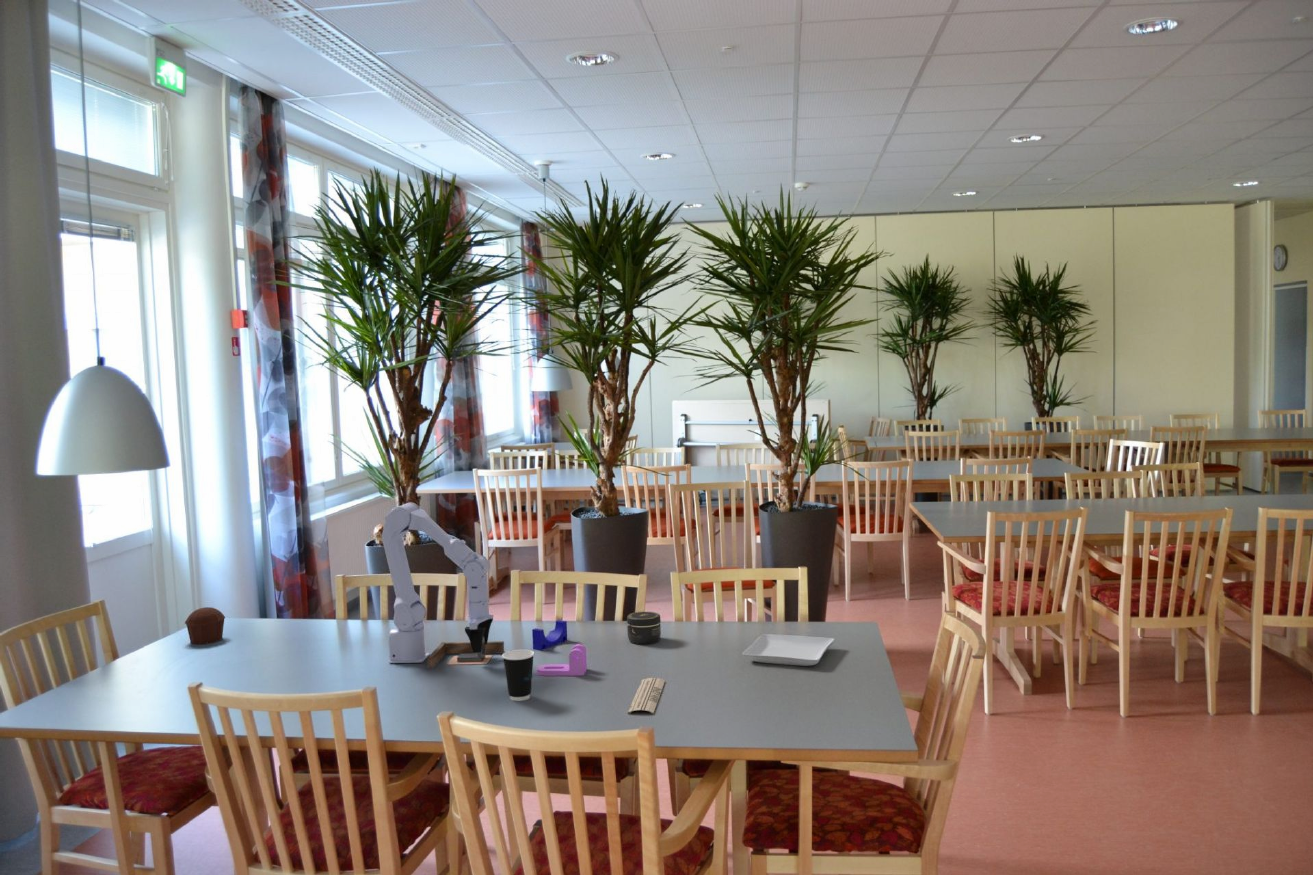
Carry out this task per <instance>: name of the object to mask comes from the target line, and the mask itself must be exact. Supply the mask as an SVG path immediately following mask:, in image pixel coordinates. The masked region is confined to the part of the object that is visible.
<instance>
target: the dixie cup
mask: <svg viewBox="0 0 1313 875" xmlns="http://www.w3.org/2000/svg"><path fill="white" fill-rule="evenodd" d="M534 656H535V651H533V650H531V649H513V650H509V651H504V652H503V653H502V655H501V657H502V659H503V665H504V672H505V678H506V685H507V692H508V695H509V698H510V699H509V700H512V701H513V702H522V701H526V700H529V699H530V698H531V693H532V685H533V684H532V682H533V680H532V679H533V670H534V669H533V666H534Z"/></svg>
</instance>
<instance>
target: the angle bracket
mask: <svg viewBox="0 0 1313 875" xmlns="http://www.w3.org/2000/svg"><path fill="white" fill-rule="evenodd" d="M485 655H486V653H485V639H484V636H483V640H482V650H481V652H478V653H459V654H458V655H457V656H458V657H457V662H482V661H483V660H484V658H485Z"/></svg>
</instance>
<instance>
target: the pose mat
mask: <svg viewBox="0 0 1313 875" xmlns="http://www.w3.org/2000/svg"><path fill="white" fill-rule="evenodd" d="M458 656H459V655H453V657H452V658H451V659H450V660H449V661H448V662H447V664H446V666H460V665H461V666H465V665H466V666H467V665H468V666H469V665H471V666H472V665H488V663H489V662H490V660H491V659H492V657H493V654H485V658H484V660H483V661H482V662H457V657H458Z"/></svg>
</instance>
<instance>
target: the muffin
mask: <svg viewBox="0 0 1313 875" xmlns="http://www.w3.org/2000/svg"><path fill="white" fill-rule="evenodd" d="M225 619H226V616H225V615H224V614H223V612H221V611H220V610H219V609H217V608H215V607H200V608H198V609H195V610H193V611H192V612H191V613H189V615H188V617H187V618H186V620H185V621H184V624H185V625H186V628H187V633H188V637H189V641H190V643H191V644H193V645H206V644H213V643H216V642H219V641H221V640H222V639H223V635H224V633H223V631H224V625H225Z"/></svg>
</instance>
